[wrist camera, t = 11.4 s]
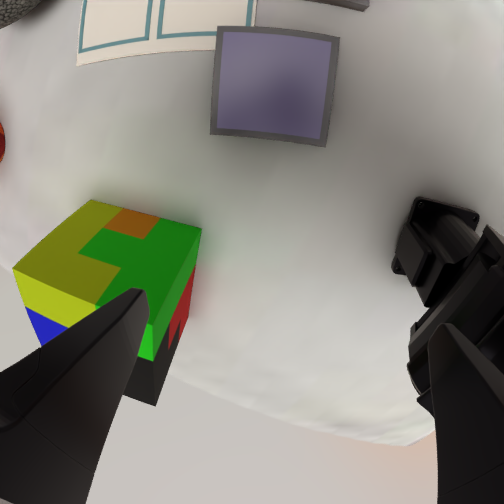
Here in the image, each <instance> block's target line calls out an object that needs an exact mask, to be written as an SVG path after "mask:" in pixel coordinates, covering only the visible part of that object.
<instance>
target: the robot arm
mask: <svg viewBox="0 0 504 504" xmlns="http://www.w3.org/2000/svg"><path fill="white" fill-rule="evenodd" d="M420 202H422V205H421V206H419V207H418V205H419V203H420ZM474 216H475V218H474V219H473V217H474ZM478 222H479V214H478V213H477V212H475V211H472V210H469V209H465V208H462V207H458V206H454V205H451V204H447V203H443V202H439V201H435V200H431V199H427V198H423V197H418V198H416V199H415V200H414V202H413V206H412V209H411V212H410V215H409V218H408V221H407V223H406V224H405V225H404V228H403V231H402V234H401V237H400V239H399V242H398V245H397V248H396V251H395V253H396V255H395V258H394V261H393V263H392V267H391V268H392V270H393V272H394V273H395V274H400V275H407V278H408V280H409V282H410V284H411V286H412V287H416V289H417V291H418V293H419V295H420V298H421V300H422V302H423V304H424V306H425V307H428V308H429V309H428V310H427V312H426V313H425V314H424V315H423V316H422V317H421V319H420V320H419V321H418V322H415V323H414V324H413V326H412V327H411V331H410V342H409V346H408V349H409V359H410V361H409V362H408V363H407V370H408V373H409V375H410V378H411V381H412V384H413V386H414V388H415V389H416V391H417V392H418V394H419V395H420V396H419V397H418V398H417V402H418V403H419V404H420V405H421V406H423V407H424V408H425V409H426V410H427V411H429V412H430V414H431V415H432V416H433V417H434V419H435V429H436V442H437V461H438V498H437V504H504V237H503V236H502V235H500V234H499V233H498V232H497V231H495V230H494V229H493V228H491V227H490V226H489V225H486V227H485V228H484V230H483V235H482V236H481V238H480V237H479V236H478V235H477V234H476V233H475V229H476V227H477V224H478ZM398 266H400V267H399V268H397V269H396V267H398ZM149 314H150V310H149V304H148V299H147V294H146V291H145V290H144V289H140V288H135V287H132V288H130V289H128V290H126V291H125V292H123V293H122V294H120V295H118V296H117V297H115V298H114V299H112V300H111V301H109V302H107V303H106V304H104V305H103V306H101V307H100V308H98V309H97V310H95V311H94V312H92V313H90V314H89V315H87V316H86V317H84V318H83V319H81V320H80V321H78V322H77V323H75V324H74V325H72V326H71V327H69V328H68V329H66V330H65V331H63V332H62V333H60V334H59V335H57V336H56V337H54V338H53V339H51V340H50V341H48V342H47V343H45V344H44V345H42V346H41V348H38V349H36V350H35V351H34V352H32V353H31V354H29V355H28V356H26V357H25V358H23V359H21V360H20V361H18V362H17V363H15V364H13V365H12V366H10V367H9V368H7V369H5V370H3V371H2V372H0V504H86V500H87V497H88V493H89V490H90V487H91V484H92V480H93V477H94V473H95V470H96V467H97V464H98V461H99V458H100V455H101V452H102V449H103V446H104V443H105V441H106V438H107V435H108V432H109V429H110V427H111V424H112V421H113V418H114V416H115V413H116V410H117V408H118V405H119V402H120V400H121V397H122V395H123V392H124V390H125V387H126V384H127V382H128V379H129V377H130V374H131V372H132V370H133V367H134V365H135V362H136V359H137V356H138V353H139V349H140V346H141V342H142V339H143V335H144V332H145V329H146V325H147V322H148V319H149Z"/></svg>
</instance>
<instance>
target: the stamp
mask: <svg viewBox="0 0 504 504" xmlns="http://www.w3.org/2000/svg"><path fill="white" fill-rule="evenodd" d="M306 1H313V2H319V3H325V4H330V5H335V6H340V7H345V8H350V9H354V10H358V11H362V12H363V11H365V10H366V9H367V8H368V7H369V0H306Z"/></svg>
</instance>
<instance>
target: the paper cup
mask: <svg viewBox="0 0 504 504" xmlns="http://www.w3.org/2000/svg"><path fill="white" fill-rule="evenodd" d="M4 151H5V136H4V131H3V128H2V125H1V123H0V162H1V161H2V159H3V156H4Z"/></svg>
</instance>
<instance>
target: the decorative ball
mask: <svg viewBox="0 0 504 504" xmlns="http://www.w3.org/2000/svg"><path fill="white" fill-rule="evenodd" d="M40 1H41V0H0V29H1V28H3V27H6V26H8V25H10V24H12V23H13V22H15V21H17V20H19V19H20V18H22V17H23V16H24V15H26V14H27V13H28V12H30V11H31V10H32V9H33V8H34V7H35V6H36V5H38V4H39V2H40Z"/></svg>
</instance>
